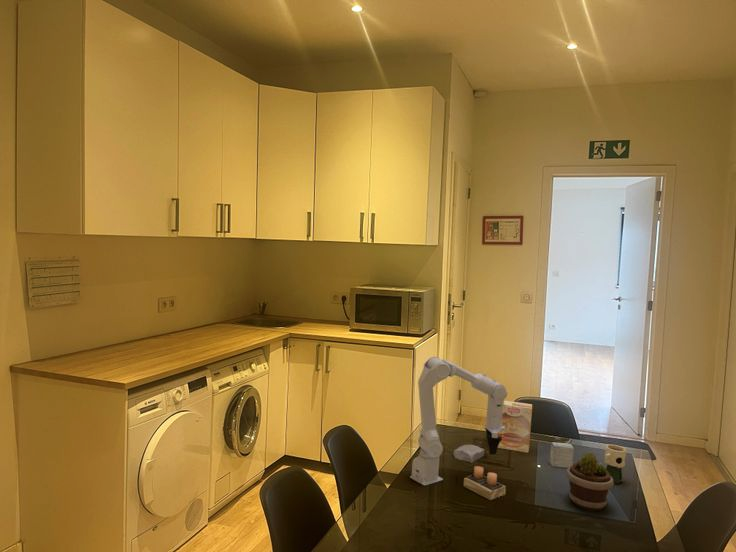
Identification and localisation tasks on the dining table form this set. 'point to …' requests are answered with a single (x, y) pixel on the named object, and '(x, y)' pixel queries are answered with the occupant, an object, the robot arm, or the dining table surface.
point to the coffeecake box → (516, 426)
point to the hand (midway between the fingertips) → (491, 450)
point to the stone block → (469, 453)
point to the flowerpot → (589, 483)
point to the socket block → (484, 487)
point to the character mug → (615, 461)
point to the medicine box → (561, 455)
